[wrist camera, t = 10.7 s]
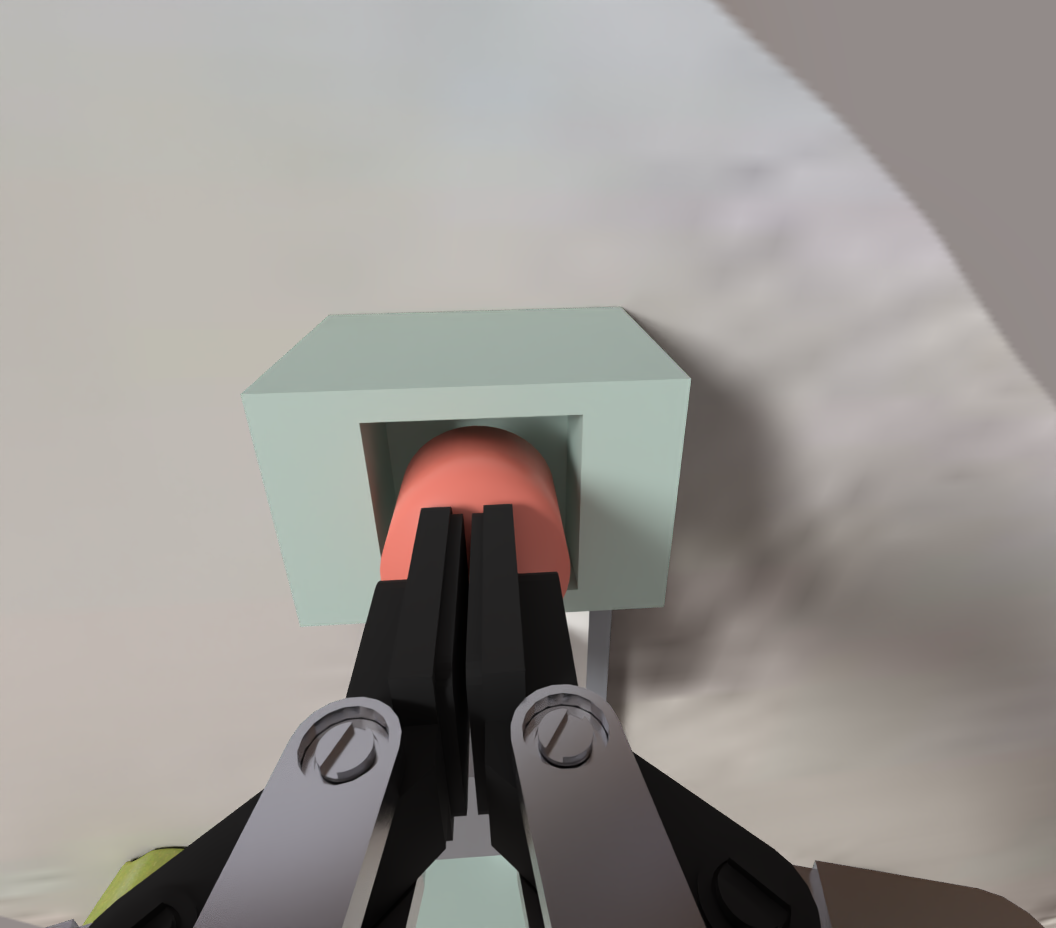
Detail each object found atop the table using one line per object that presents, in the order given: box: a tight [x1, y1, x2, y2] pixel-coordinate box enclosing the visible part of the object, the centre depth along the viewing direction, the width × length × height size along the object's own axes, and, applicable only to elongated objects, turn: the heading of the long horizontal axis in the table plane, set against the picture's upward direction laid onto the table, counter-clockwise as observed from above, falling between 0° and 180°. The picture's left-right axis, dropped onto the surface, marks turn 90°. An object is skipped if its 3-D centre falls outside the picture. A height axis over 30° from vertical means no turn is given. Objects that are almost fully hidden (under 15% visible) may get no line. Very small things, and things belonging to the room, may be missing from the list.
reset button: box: [380, 426, 571, 598], centre depth 12 cm, size 4×4×3 cm
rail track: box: [241, 307, 691, 928], centre depth 21 cm, size 28×9×7 cm, turn 1°
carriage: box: [436, 611, 589, 860], centre depth 16 cm, size 5×6×7 cm
